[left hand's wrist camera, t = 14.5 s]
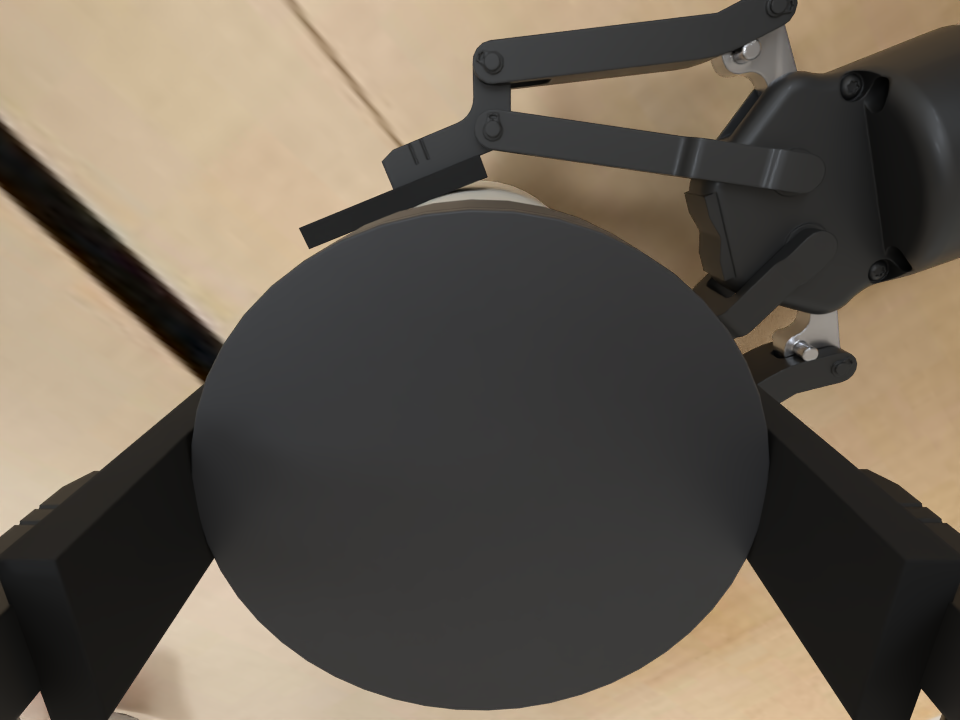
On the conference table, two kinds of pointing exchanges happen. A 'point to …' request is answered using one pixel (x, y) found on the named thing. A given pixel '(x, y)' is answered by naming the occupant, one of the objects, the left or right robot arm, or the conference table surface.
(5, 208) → the conference table surface
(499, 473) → the lid
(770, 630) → the conference table surface
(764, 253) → the right robot arm
